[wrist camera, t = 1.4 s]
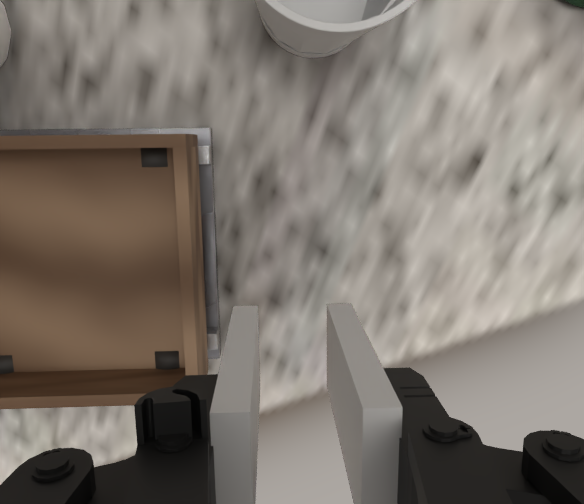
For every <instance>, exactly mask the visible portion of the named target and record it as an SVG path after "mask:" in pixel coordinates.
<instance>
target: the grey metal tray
mask: <svg viewBox="0 0 584 504" xmlns="http://www.w3.org/2000/svg"><path fill="white" fill-rule="evenodd" d="M124 134H195V135H197V138H198V160H199V181H200V202H201V223H202V245H203V266H204V287H205V308H206V329H207V351H208V359H215V358H220V355H221V345H220V321H219V297H218V273H217V249H216V225H215V201H214V177H213V153H212V129H211V128H140V129H47V130H0V136H34V135H124Z"/></svg>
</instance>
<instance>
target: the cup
mask: <svg viewBox="0 0 584 504" xmlns="http://www.w3.org/2000/svg"><path fill="white" fill-rule="evenodd" d="M416 1H417V0H255V2H256V5H257V7H258V10H259V14H260V18H261V20H262V23H263V25H264V27H265V29H266V31H267V32H268V34H269V35H270V36H271V38H272V39H273V40H274V41H275V42H276V43H277V44H278V45H279V46H281V47H282V48H283V49H285V50H286V51H288V52H290V53H292V54H295V55H297V56H301V57H306V58H321V57H326V56H330V55H333V54H335V53H337V52H339V51H341V50H342V49H344V48H345V47H347V46H348V45H349V44H350V43H351V42H352V41H354V40H355V39H357V38H358V37H360V36H362V35H363V34H365V33H367V32H368V31H370V30H372V29H374V28H376V27H378V26H380V25H382V24H384V23H386V22H387V21H389V20H391V19H393V18H395V17H396V16H398V15H400V14H401V13H402V12H404V11H405V10H407V9H408V8H409V7H410V6H411V5H413V4H414V3H415V2H416Z"/></svg>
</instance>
